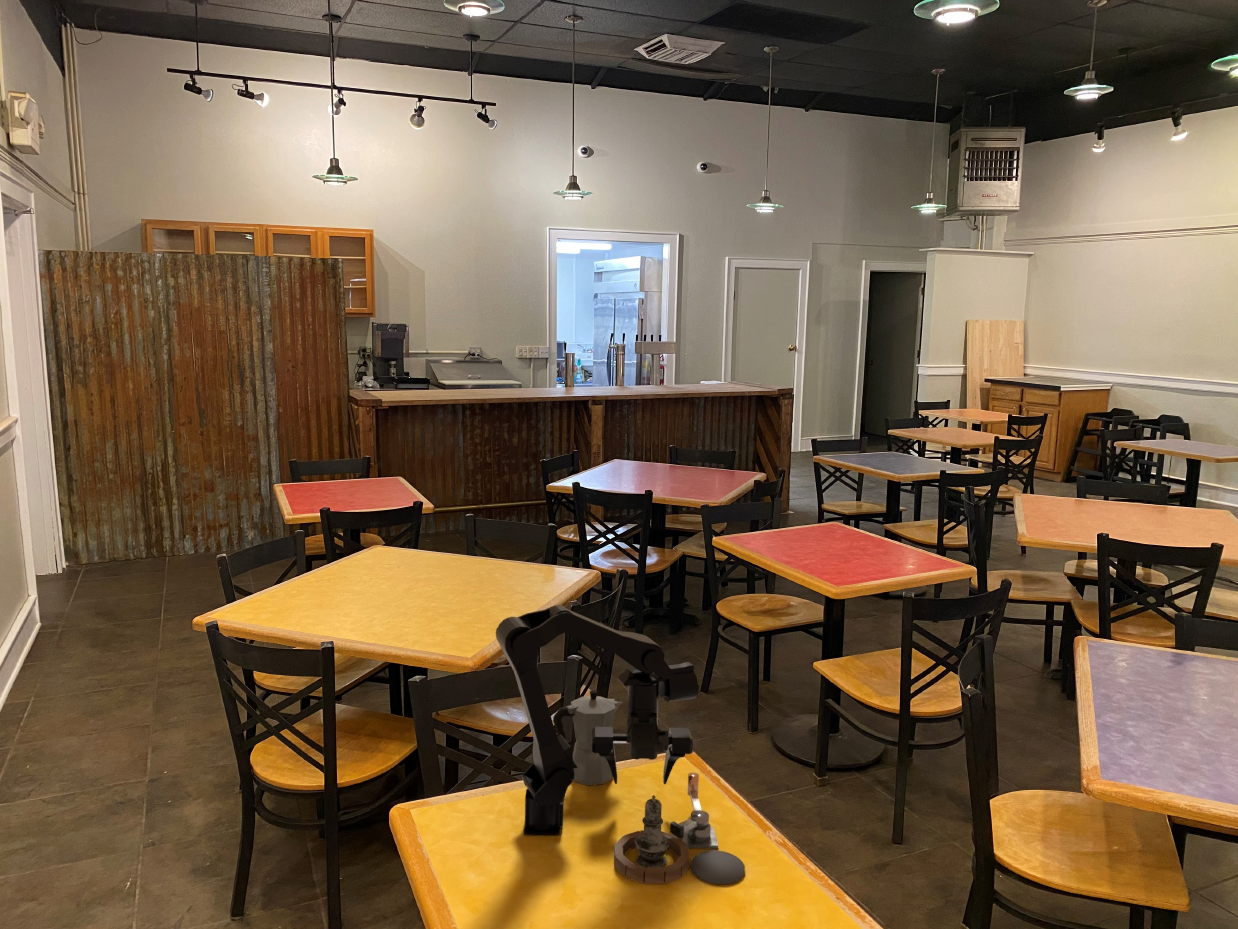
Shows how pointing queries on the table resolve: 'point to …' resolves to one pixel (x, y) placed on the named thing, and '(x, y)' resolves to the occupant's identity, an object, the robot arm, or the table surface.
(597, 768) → the coffeepot
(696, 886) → the table surface
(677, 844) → the socket ring
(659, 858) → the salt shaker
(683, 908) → the table surface
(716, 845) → the pivot block
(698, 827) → the clamp
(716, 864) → the pad
